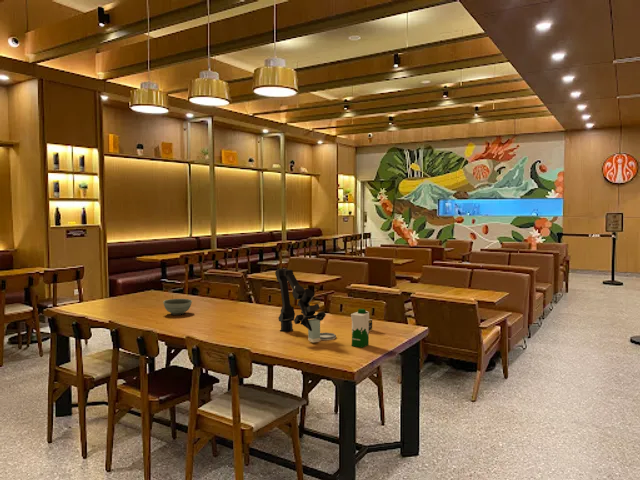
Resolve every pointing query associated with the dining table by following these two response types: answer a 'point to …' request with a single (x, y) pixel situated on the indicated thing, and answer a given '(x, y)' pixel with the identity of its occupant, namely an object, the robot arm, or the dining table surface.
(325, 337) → the coaster
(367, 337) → the milk carton
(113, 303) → the dining table surface
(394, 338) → the dining table surface
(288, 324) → the robot arm
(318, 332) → the gray block
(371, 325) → the medicine bottle
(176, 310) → the bowl
